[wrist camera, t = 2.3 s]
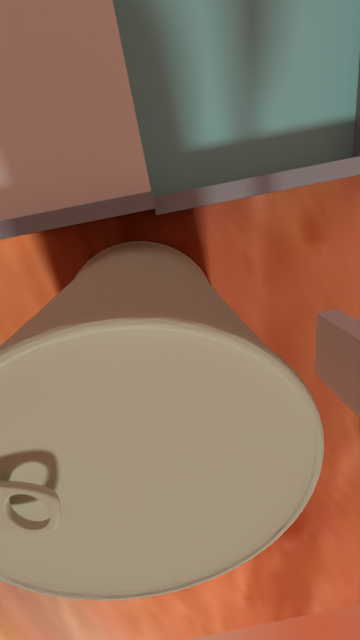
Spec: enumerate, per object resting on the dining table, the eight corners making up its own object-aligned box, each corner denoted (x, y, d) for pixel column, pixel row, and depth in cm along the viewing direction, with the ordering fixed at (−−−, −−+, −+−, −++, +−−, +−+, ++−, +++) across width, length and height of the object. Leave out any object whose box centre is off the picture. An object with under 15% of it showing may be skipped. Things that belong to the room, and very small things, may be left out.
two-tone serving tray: (-125, 270, 14) (-191, 285, 11) (-359, -92, 9) (-582, -226, 6) (362, 173, 15) (411, 164, 12) (392, -199, 10) (486, -354, 7)
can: (65, 229, 14) (-200, 292, 3) (228, 251, 16) (416, 343, 5) (68, 374, 18) (-61, 645, 7) (201, 380, 19) (278, 610, 8)
